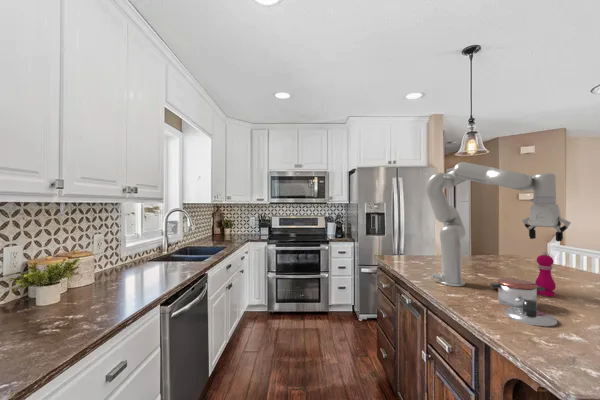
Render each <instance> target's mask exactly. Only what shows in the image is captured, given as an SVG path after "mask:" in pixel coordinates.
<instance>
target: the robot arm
mask: <svg viewBox="0 0 600 400" xmlns="http://www.w3.org/2000/svg"><path fill="white" fill-rule="evenodd" d="M556 179H557V178H556V175H555V174H554V173H544V172H543V173H537V174H534V175H533V174H532V175H531V174H526V173H521V172H517V171H511V170H505V169H500V168H496V167H492V166H487V165H481V164H475V163H471V162H464V161H461V162H459V163H457V164H455V165H454V168H453V170H451V171H449V172H447V173H445V172H437V173H434V174H432V175H431V176H430V177H429V179H428V180H427V182H426V186H425V187H426V188H425V189H426V190H425V191H426V194H427V196H428V200H429V203H430V206H431V209H432V211H433V213H434V216H435V217H434V218H435V219H436V220H437V222H439V223H442V224H443V226H442V228H441V229H440V231H439V241H440V256H441V261H440V262H441V270H440V271H441V272H440V273H439V274H433V273H432V274H431V278H432V279H436V280H438V283H440V284H441V285H445V286H449V287H463V286H465V285H466V282H465V281H464V280H462V278H463V275H462V272H463V271H462V268H463V267H462V245H461V240H463V238H464V237H465V235H466V228H465V226H464V224H463V223H464V222H463V221H462V218H461V216H460V213H459V211H458V210H457V208H456V207H454V206H453V205H450V203H449V201H448V199H447V195H446V194H445V192H444V190H447V189H448V190H449V189H451V188H454V187H455V186H457V185H460V184H461V183H464V182H466V181H472V182H476V183H480V184H485V185H494V186H498V187H499V186H500V187H504V188H507V189H508V188H509V189H513V190H516V191H520V192H524V191H525V192H526V191H533V197H532V198H530V199H529V200H530V202H531V203H532V204H531V205H530V208H529V215H528V217H526V218H525V219H522V223H523V225H524V227H526V228H527V230H528V235H529V239H530V240H533V239H534V240H535V239H536V238H537V237H536V227H538V228H539V227H541V228H553V229H554V230H556V232H555V241H556V242H562V241H563V240H564V235H563V234H564V232H565V231H566V230H567V229H568V228H569V227H570V225H571V221H569V220H567V219H564V218H562V217H561V211H560V207H559V204H557V189H556V188H557V186H556V184H557V182H556V181H557V180H556ZM562 224H563V226H561V225H562Z"/></svg>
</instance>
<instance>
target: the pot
mask: <svg viewBox="0 0 600 400" xmlns="http://www.w3.org/2000/svg"><path fill="white" fill-rule="evenodd" d="M490 286H491V287H492V288H495V287H497V288H498V291H497V293H498V300H497V301H498V302H499V303H500V304H501V305H504V306H507V307H509V306H510V307H509V308H513V307H517V308H523V300H532V301H535V302H536V303H537V304H538V294H537V290H538V291H545V288H544V287H542V286H538V285H537V284H535V282H532V281H529V280H525V279H517V278H514V279H513V278H505V277H503V278H498V279H497V280H496V283H495V282H490Z"/></svg>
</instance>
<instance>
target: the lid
mask: <svg viewBox="0 0 600 400" xmlns="http://www.w3.org/2000/svg"><path fill="white" fill-rule="evenodd" d="M504 314H505V316H506V317H507V316H508V318H509V319H511V320H513V321H515V320H516V322H518V321H519V322H518V323H521V322H522V323H521V324H524V323H525V325H529V324H530V326H534V325H536V326H535V327H541V326H544V327H546V328H550V327H549V326H552V327H555V325H556V324H557V325H558V321H557V318H556V317H555V316H553V315H551V314H549V313H547V312H543V311H540V310H538V302H537V303H536V302H535V301H532V300H523V308H517V307H507V308H506V309H505V310H504ZM557 325H556V326H557Z"/></svg>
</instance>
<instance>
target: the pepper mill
mask: <svg viewBox="0 0 600 400" xmlns="http://www.w3.org/2000/svg"><path fill="white" fill-rule="evenodd" d="M536 263H537V265H538V269H539V271H538V272H539V274H538V275H537V277H536V279H535V282H534V283H535V284H537V285H538V286H542V287H544V288H545V291H538V290H537V295H540V296H543V297H551V298H552V297H555V291H554V290H555V289H556V283H555V281H554V278H553V276H552V270H553V266H552V265H553V264H554V258H553V257H551V256H549V255H548V252H547V251H543V252H542V254H540V255H538V256H537V257H536Z"/></svg>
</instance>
